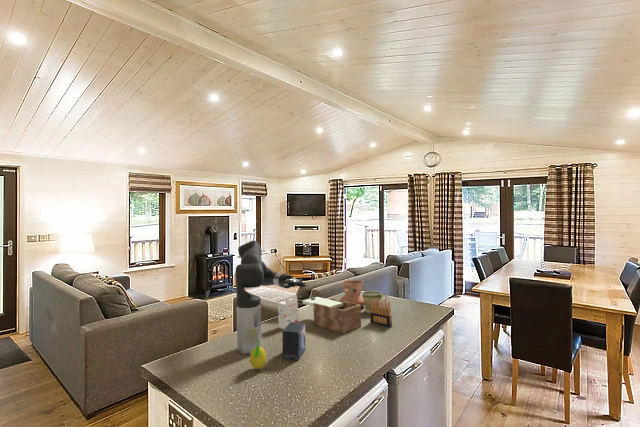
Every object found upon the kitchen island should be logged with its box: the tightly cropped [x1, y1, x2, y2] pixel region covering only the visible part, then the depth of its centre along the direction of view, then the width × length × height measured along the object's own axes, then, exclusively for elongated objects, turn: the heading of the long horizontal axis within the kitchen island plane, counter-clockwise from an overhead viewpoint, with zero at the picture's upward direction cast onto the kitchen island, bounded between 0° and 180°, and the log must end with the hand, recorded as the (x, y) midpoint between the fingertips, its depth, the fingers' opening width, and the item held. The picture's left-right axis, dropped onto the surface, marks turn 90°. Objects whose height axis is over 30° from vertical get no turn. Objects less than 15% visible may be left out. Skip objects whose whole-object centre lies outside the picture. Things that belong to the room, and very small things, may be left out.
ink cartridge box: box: [277, 294, 299, 330], centre depth 156 cm, size 9×5×15 cm, turn 143°
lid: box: [301, 296, 343, 308], centre depth 163 cm, size 18×10×2 cm, turn 45°
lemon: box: [249, 340, 267, 370], centre depth 113 cm, size 7×6×10 cm
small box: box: [281, 322, 306, 362], centre depth 125 cm, size 11×6×10 cm, turn 168°
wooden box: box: [313, 298, 362, 334], centre depth 157 cm, size 19×12×10 cm, turn 45°
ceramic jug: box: [339, 279, 365, 308], centre depth 189 cm, size 18×14×14 cm
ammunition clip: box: [369, 298, 393, 328], centre depth 156 cm, size 11×2×12 cm, turn 50°
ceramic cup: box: [361, 290, 388, 314], centre depth 177 cm, size 13×10×10 cm
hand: (304, 285), depth 173 cm, fingers closed
